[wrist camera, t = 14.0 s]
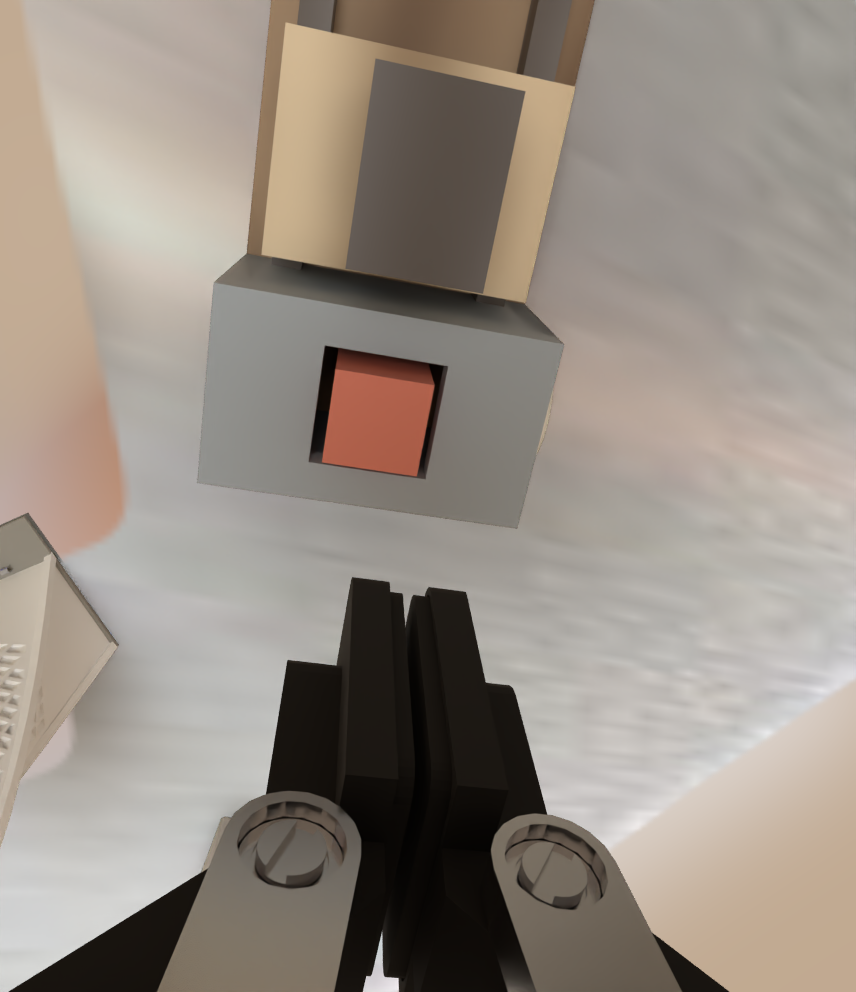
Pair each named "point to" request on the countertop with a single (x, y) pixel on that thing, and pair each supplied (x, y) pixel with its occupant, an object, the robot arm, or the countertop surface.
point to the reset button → (378, 412)
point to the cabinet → (385, 331)
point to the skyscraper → (39, 650)
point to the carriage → (411, 164)
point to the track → (432, 30)
